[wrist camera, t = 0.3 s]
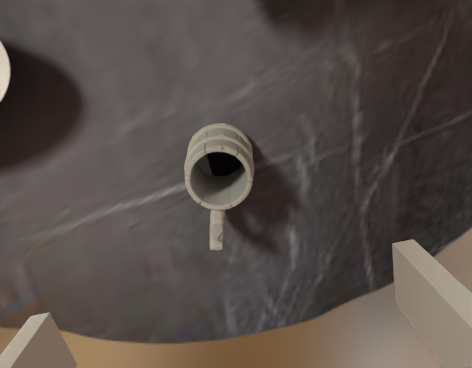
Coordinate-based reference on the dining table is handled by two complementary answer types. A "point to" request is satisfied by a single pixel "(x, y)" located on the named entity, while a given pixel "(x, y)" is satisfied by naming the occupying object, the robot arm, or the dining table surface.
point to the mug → (218, 187)
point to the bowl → (4, 71)
